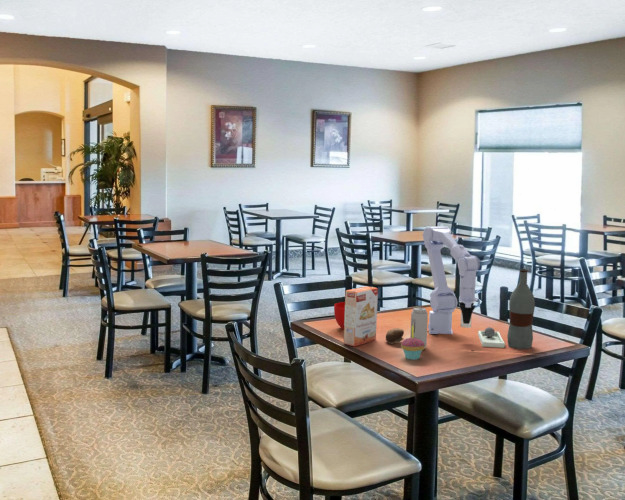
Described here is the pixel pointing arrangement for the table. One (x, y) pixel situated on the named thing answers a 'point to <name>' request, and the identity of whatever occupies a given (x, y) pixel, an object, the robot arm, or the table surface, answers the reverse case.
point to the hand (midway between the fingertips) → (465, 322)
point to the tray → (491, 340)
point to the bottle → (521, 315)
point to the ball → (489, 332)
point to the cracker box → (360, 315)
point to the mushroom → (394, 335)
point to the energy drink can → (419, 324)
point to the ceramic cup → (340, 313)
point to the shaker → (465, 324)
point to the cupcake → (412, 346)
